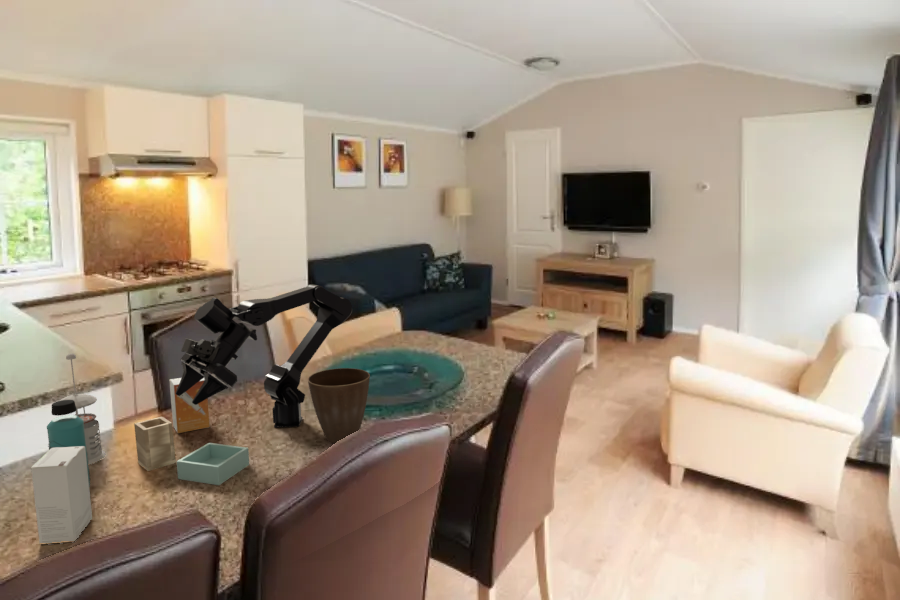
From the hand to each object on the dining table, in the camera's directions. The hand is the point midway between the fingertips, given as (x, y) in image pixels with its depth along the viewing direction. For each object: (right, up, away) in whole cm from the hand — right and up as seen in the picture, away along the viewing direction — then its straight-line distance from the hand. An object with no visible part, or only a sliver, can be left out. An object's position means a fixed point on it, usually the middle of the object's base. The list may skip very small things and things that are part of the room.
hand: (185, 399), depth 142 cm
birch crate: (-5, -14, -3) cm, 15 cm away
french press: (-24, -14, 0) cm, 28 cm away
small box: (-6, -11, +19) cm, 22 cm away
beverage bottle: (-14, -17, -19) cm, 29 cm away
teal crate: (+10, -15, -8) cm, 19 cm away
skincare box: (-7, -19, -32) cm, 38 cm away
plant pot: (+34, -12, +10) cm, 38 cm away
